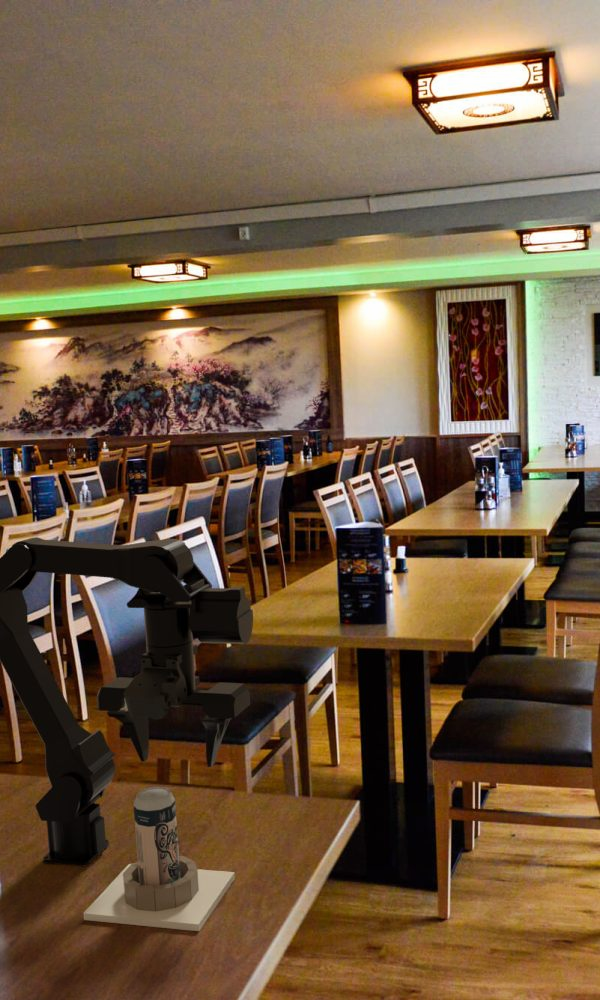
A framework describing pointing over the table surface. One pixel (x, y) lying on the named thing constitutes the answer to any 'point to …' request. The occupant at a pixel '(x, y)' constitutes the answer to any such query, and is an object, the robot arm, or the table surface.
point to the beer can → (156, 837)
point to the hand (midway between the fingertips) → (177, 763)
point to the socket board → (167, 917)
